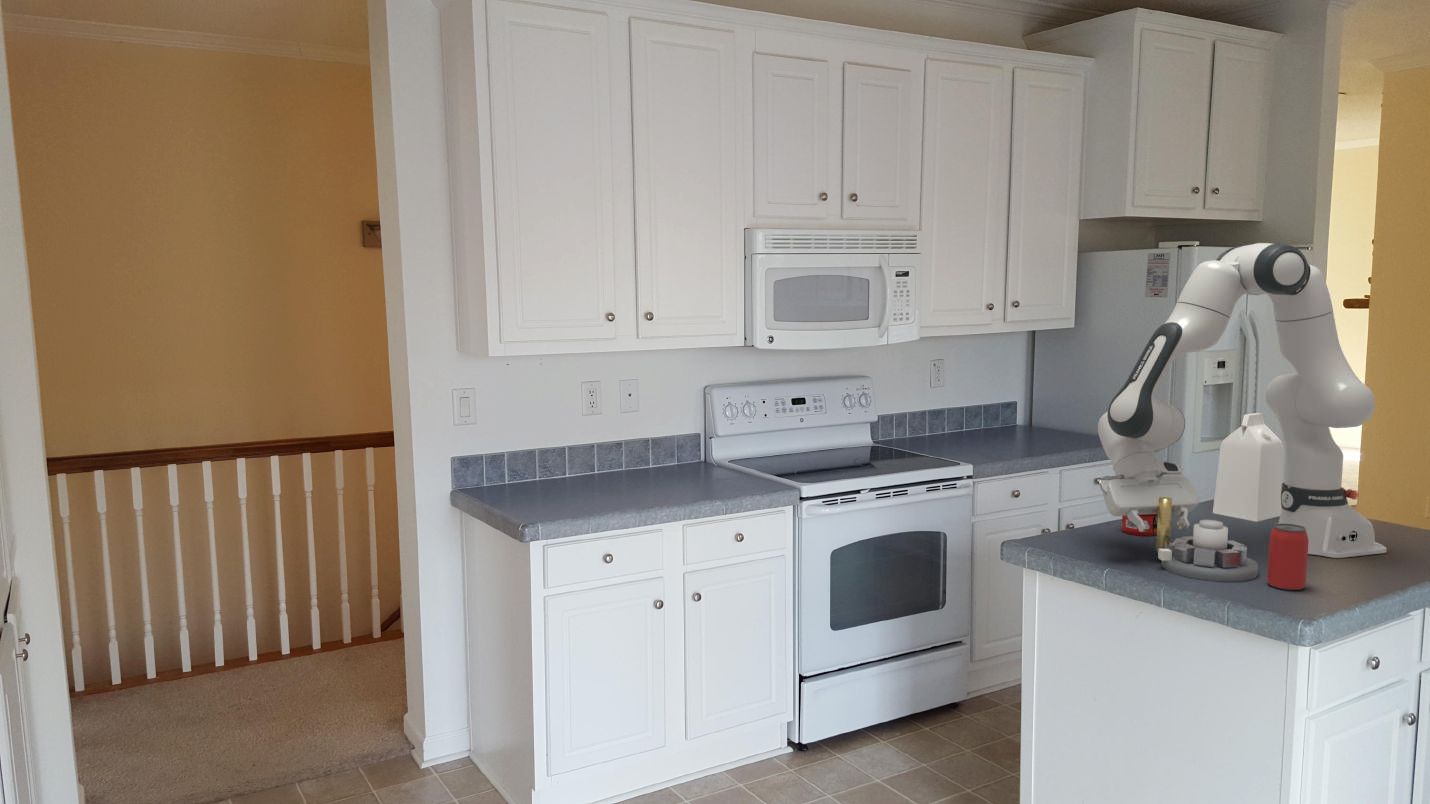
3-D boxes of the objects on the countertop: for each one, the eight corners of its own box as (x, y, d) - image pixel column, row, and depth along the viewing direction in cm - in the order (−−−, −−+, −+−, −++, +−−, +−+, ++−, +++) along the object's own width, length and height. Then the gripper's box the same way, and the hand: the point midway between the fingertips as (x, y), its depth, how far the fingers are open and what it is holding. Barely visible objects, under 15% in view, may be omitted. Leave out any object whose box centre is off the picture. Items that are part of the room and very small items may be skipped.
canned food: (1161, 537, 236) (1163, 491, 234) (1125, 535, 237) (1127, 489, 236) (1153, 529, 243) (1155, 484, 242) (1118, 527, 245) (1120, 483, 243)
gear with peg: (1249, 555, 211) (1252, 501, 209) (1240, 571, 200) (1243, 513, 198) (1162, 544, 220) (1165, 492, 219) (1149, 558, 209) (1152, 503, 208)
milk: (1238, 507, 266) (1244, 410, 263) (1282, 515, 256) (1288, 414, 253) (1212, 513, 259) (1218, 413, 256) (1256, 521, 250) (1262, 418, 247)
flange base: (1222, 555, 219) (1225, 511, 218) (1277, 579, 201) (1280, 531, 200) (1140, 558, 217) (1142, 513, 216) (1188, 583, 199) (1190, 534, 198)
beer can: (1259, 581, 200) (1263, 523, 199) (1291, 580, 201) (1294, 522, 199) (1280, 591, 194) (1284, 531, 192) (1313, 590, 194) (1317, 530, 193)
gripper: (1102, 468, 215) (1127, 523, 207) (1186, 464, 219) (1214, 518, 211) (1089, 484, 220) (1113, 539, 212) (1172, 480, 224) (1199, 534, 216)
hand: (1165, 529), depth 211 cm, fingers open, 8 cm apart
